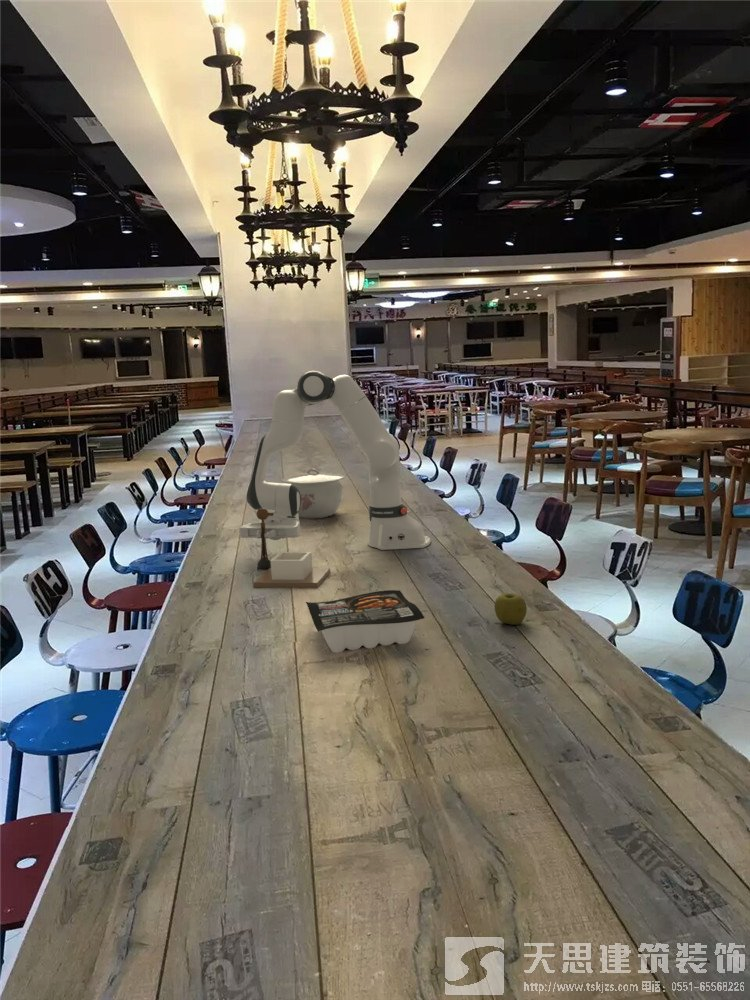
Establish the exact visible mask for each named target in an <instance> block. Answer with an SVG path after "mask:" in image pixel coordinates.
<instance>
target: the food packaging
mask: <svg viewBox="0 0 750 1000" xmlns="http://www.w3.org/2000/svg"><path fill="white" fill-rule="evenodd" d="M305 603H306V606H307V608H308V611H309V614H310V616H311V620H312V621H313V625H314V627H315V629H316V630H317V632H321V633H322V636H323V638H324V641H325V642H326V644H327V646H328V647H329V649H330V650H331V652H332V653H334V654H336V653H337V654H339V653H342V652H344V651H345V649H348V650H350V651H354V650H359V649H360V648H361V647H362V646H363V647H364V648H366V649H375V648H376V647H377V646H378V645H381V646H390V645H392V644H394V643H396V644H399V645H402V644H403V645H405V644H408V643H409V642H410V641H411V638H412V635H413V633H414V631H415V624H416V621H420V620H423V619H425V616H424V614H423V613H422V611H421V610H420V608H419V607H418V606H417V605H416V604H415V603H413V602H411V601H409V600H408V599H407V598H406V596H404V594H403V592H402V591H401V590H400V589H399V590H397V589H396V590H395V589H390V590H389V589H388V590H378V591H373V592H367V593H363V594H357V595H354V596H350V597H349V596H348V597H345V598H344V597H343V598H341V599H340V598H339V599H335V600H329V601H322V602H321V601H320V602H311V601H310V602H308V601H305Z"/></svg>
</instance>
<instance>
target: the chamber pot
mask: <svg viewBox="0 0 750 1000" xmlns="http://www.w3.org/2000/svg"><path fill="white" fill-rule="evenodd" d="M345 478H346V475H345V474H342V473H340V472H334V471H319V470H317V469H315V468H312V467H311V468H309V469H308V470H307V472H301V473H299V472H298V473H295V474H291V475H287V476H285V477H282V479H281V483H288V484H294V485H295V486H296V487H297V489H298V490H299V492H300V495H301V506H300V510H299V512H298V514H299V518H302V519H305V518H306V519H305V520H307V519H308V520H318V519H317V518H319V519H324V517H325V518H328V516H329V517H330V516H333V515H335V514H336V513H337V511H338V510H339V508H340V506H341V504H342V502H343V496H344V487H343V485H342V483H341V480H344V479H345Z"/></svg>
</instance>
